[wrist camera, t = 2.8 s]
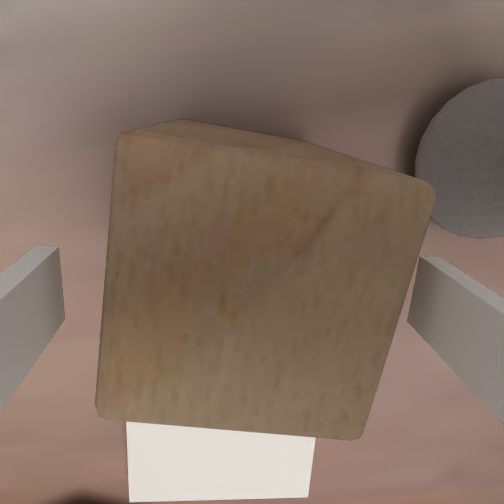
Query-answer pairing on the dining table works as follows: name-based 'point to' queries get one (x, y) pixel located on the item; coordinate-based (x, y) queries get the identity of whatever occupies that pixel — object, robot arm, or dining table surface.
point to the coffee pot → (467, 161)
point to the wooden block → (252, 281)
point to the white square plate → (215, 464)
